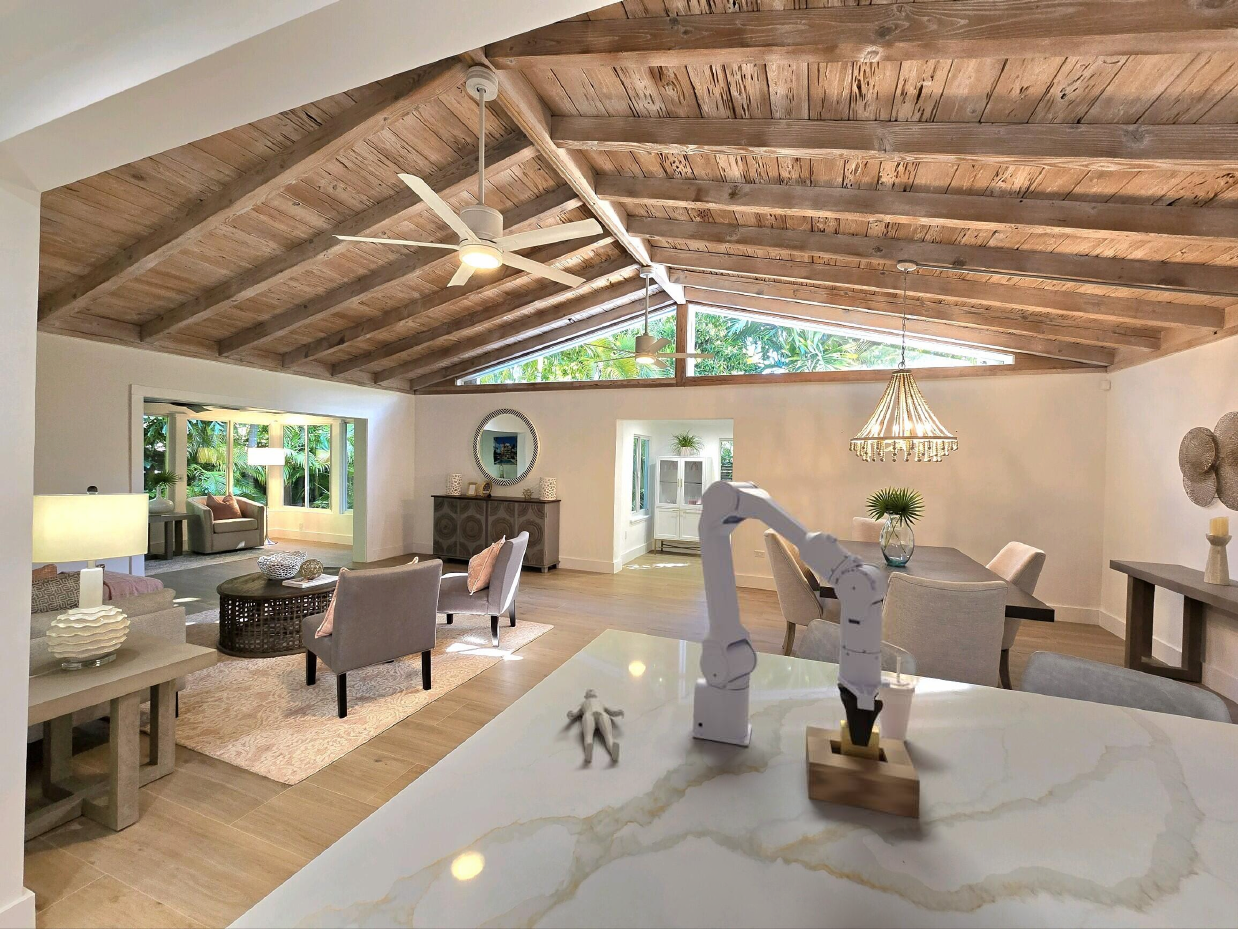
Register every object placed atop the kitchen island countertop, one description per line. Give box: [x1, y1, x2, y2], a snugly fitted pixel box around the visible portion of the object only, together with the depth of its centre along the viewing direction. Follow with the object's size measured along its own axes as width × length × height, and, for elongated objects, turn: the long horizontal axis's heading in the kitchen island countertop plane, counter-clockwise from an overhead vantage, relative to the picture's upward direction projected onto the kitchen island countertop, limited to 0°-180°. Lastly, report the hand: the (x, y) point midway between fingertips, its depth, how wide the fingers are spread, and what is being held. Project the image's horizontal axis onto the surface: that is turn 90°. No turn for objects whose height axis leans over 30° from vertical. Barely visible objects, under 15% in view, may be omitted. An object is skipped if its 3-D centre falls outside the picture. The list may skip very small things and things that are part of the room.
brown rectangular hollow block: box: [805, 725, 921, 819], centre depth 82 cm, size 14×12×5 cm
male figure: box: [566, 687, 625, 762], centre depth 98 cm, size 10×4×22 cm
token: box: [839, 719, 880, 761], centre depth 82 cm, size 5×2×4 cm, turn 73°
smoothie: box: [877, 657, 916, 743], centre depth 98 cm, size 6×6×14 cm
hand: (858, 740), depth 82 cm, fingers closed on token, 2 cm apart
